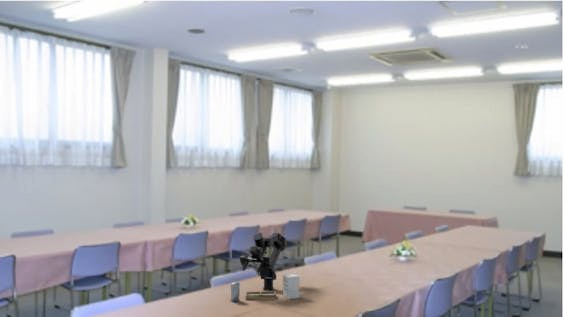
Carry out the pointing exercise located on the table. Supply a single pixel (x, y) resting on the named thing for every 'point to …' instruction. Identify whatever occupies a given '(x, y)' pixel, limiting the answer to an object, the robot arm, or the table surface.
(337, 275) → the table surface
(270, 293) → the wooden divided tray
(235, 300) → the grey metal cylinder
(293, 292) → the supplement box
